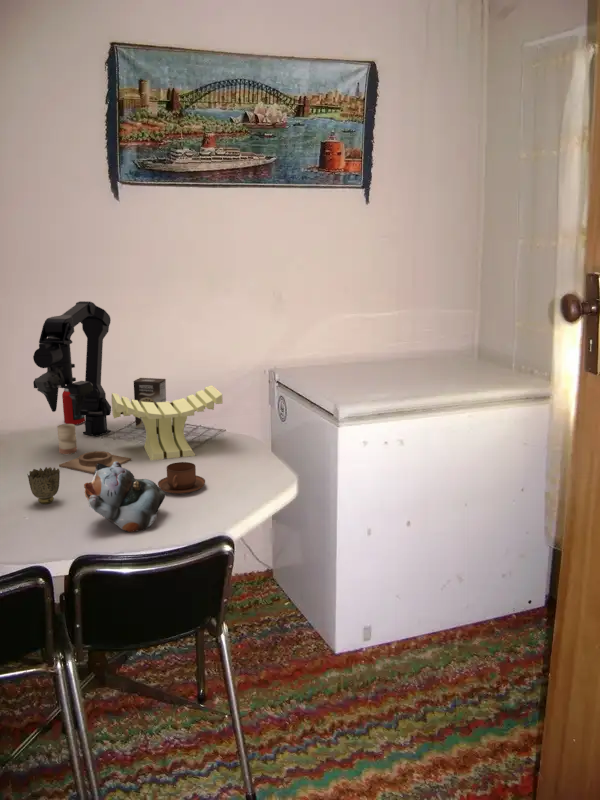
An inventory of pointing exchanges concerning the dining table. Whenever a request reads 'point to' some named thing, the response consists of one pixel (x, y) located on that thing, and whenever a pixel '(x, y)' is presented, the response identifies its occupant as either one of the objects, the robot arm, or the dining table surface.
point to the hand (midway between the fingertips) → (65, 413)
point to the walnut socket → (93, 461)
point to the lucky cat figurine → (123, 497)
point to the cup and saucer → (181, 479)
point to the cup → (44, 484)
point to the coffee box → (149, 394)
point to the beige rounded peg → (67, 439)
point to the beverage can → (70, 410)
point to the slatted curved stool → (166, 420)
